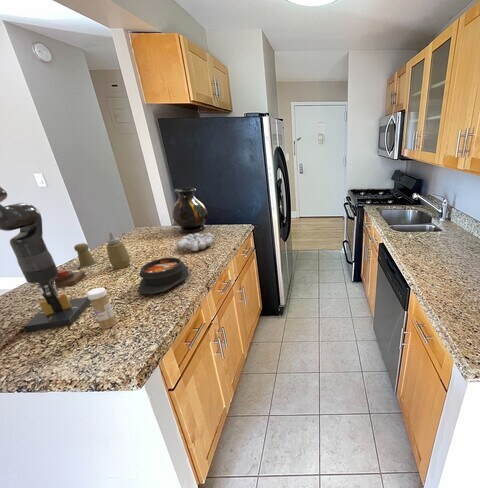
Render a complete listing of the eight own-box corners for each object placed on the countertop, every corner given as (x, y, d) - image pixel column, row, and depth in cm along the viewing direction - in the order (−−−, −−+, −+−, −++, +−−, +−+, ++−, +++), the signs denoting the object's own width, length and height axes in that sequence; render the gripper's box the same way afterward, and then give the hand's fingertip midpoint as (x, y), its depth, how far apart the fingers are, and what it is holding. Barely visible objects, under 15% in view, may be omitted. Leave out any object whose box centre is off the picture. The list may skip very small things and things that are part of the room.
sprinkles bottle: (96, 329, 85) (82, 294, 80) (107, 320, 90) (94, 286, 84) (110, 329, 85) (96, 294, 80) (120, 320, 90) (108, 287, 84)
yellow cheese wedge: (45, 315, 88) (39, 302, 86) (45, 313, 89) (39, 300, 87) (71, 307, 92) (65, 294, 90) (70, 305, 94) (65, 292, 92)
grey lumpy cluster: (172, 245, 153) (170, 235, 151) (208, 236, 166) (207, 228, 164) (182, 256, 138) (180, 246, 136) (221, 246, 151) (220, 237, 149)
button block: (43, 289, 108) (39, 281, 107) (55, 279, 116) (52, 271, 115) (75, 285, 111) (72, 277, 110) (85, 275, 119) (82, 267, 118)
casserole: (159, 269, 125) (154, 253, 122) (198, 268, 126) (195, 252, 123) (125, 298, 102) (119, 280, 99) (174, 297, 103) (169, 278, 100)
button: (54, 277, 110) (53, 273, 110) (59, 273, 113) (58, 270, 113) (65, 276, 111) (63, 272, 111) (69, 272, 115) (68, 268, 114)
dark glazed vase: (207, 233, 173) (200, 191, 162) (172, 236, 168) (161, 193, 157) (211, 223, 192) (205, 185, 182) (179, 226, 187) (171, 187, 176)
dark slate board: (25, 332, 84) (22, 326, 83) (52, 308, 96) (49, 302, 95) (71, 325, 87) (68, 318, 86) (91, 302, 100) (88, 296, 99)
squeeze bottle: (107, 269, 125) (95, 234, 118) (123, 262, 132) (112, 228, 126) (120, 271, 123) (109, 235, 117) (136, 263, 131) (125, 229, 124)
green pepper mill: (94, 265, 129) (86, 245, 125) (78, 268, 126) (70, 247, 122) (97, 260, 134) (89, 241, 130) (81, 263, 131) (73, 243, 127)
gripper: (21, 262, 86) (43, 306, 93) (20, 276, 77) (43, 323, 84) (53, 255, 91) (71, 297, 98) (55, 268, 82) (74, 313, 89)
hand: (58, 309), depth 91 cm, fingers closed on yellow cheese wedge, 2 cm apart
